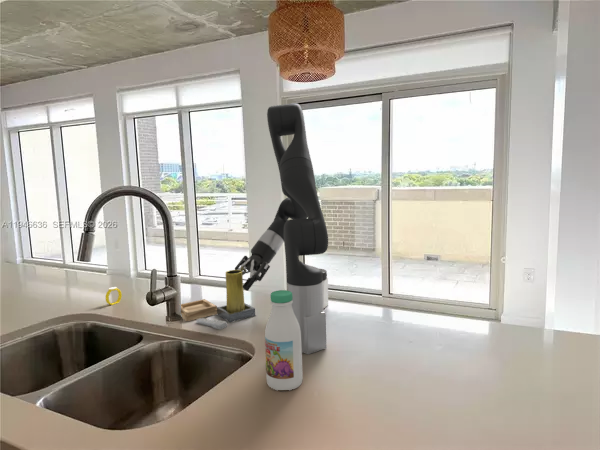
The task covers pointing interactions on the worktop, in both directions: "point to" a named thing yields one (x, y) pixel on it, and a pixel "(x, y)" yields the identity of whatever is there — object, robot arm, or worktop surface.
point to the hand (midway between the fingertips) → (238, 286)
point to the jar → (325, 288)
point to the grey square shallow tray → (235, 313)
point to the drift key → (212, 323)
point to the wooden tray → (197, 309)
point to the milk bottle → (283, 344)
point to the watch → (109, 294)
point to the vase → (234, 291)
